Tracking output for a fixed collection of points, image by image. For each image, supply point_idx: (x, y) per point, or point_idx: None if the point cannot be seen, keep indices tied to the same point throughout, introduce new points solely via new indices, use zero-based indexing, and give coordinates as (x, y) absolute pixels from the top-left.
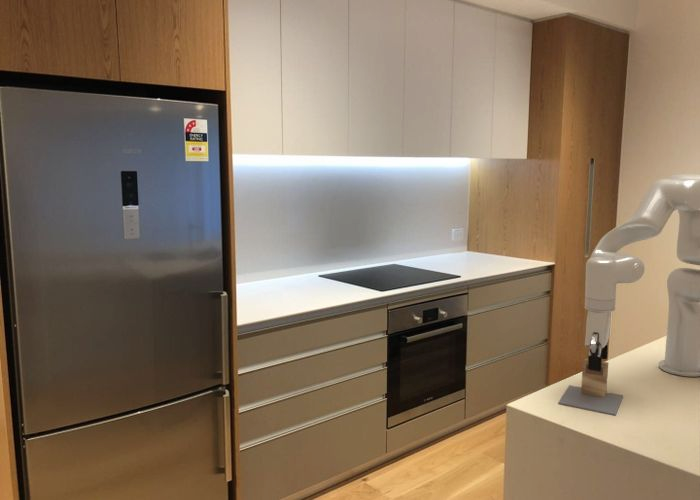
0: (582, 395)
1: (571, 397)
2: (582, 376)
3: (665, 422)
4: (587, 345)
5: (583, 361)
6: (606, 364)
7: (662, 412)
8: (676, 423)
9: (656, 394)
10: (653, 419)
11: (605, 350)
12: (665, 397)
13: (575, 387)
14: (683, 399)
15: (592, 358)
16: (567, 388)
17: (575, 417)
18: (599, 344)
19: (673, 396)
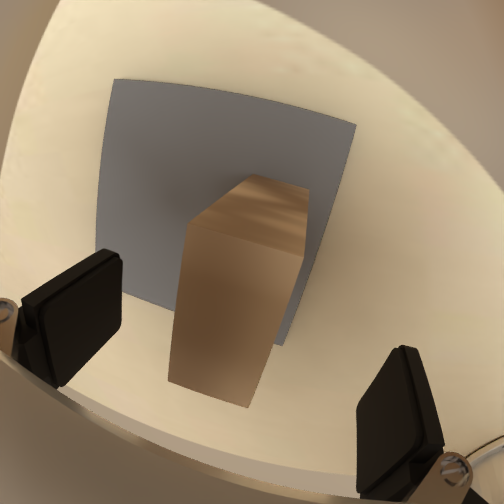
0: (224, 178)
1: (182, 126)
2: (228, 193)
3: (131, 385)
4: (18, 367)
5: (204, 229)
6: (196, 388)
7: (193, 403)
8: (139, 402)
9: (335, 424)
10: (134, 368)
11: (362, 458)
12: (314, 436)
13: (330, 152)
14: (308, 458)
15: (23, 315)
16: (302, 109)
17: (49, 152)
18: (398, 473)
19: (326, 448)
